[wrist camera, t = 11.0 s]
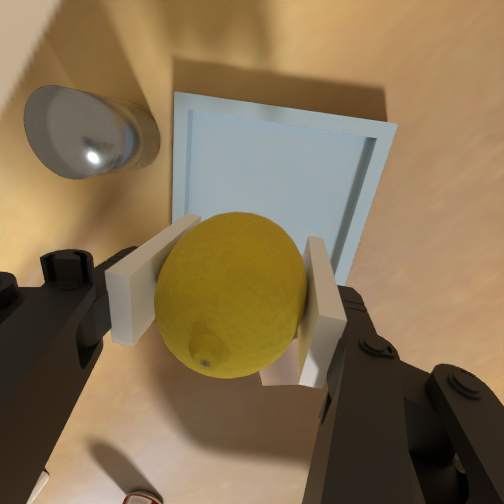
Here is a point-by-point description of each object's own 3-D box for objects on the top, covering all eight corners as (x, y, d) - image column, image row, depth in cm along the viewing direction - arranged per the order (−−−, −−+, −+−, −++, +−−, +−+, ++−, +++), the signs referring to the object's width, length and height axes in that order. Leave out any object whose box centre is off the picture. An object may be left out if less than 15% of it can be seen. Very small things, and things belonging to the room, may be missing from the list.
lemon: (183, 253, 15) (77, 365, 8) (237, 171, 13) (159, 217, 5) (262, 307, 16) (234, 458, 8) (326, 238, 13) (366, 360, 6)
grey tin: (160, 106, 21) (100, 92, 14) (160, 172, 23) (107, 185, 16) (100, 97, 21) (15, 79, 15) (105, 163, 23) (33, 172, 17)
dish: (388, 125, 19) (398, 123, 17) (332, 300, 25) (335, 313, 23) (185, 95, 20) (174, 91, 18) (179, 269, 26) (171, 279, 24)
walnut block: (309, 302, 25) (312, 337, 21) (315, 343, 27) (319, 384, 23) (258, 306, 26) (251, 341, 22) (267, 346, 28) (262, 385, 24)
